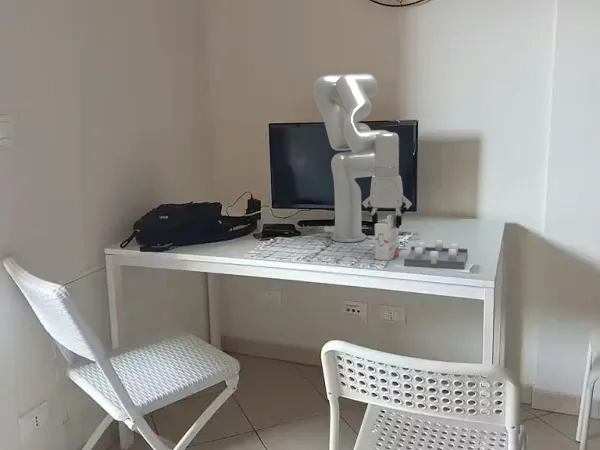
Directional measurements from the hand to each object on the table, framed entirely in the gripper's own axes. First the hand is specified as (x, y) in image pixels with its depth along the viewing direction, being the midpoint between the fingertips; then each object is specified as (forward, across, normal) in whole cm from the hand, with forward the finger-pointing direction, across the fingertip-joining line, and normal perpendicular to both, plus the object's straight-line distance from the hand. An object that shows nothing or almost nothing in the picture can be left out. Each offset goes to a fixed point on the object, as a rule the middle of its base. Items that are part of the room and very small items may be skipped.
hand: (386, 226), depth 213 cm
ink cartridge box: (+10, 0, 0) cm, 10 cm away
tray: (+10, +16, -1) cm, 19 cm away
